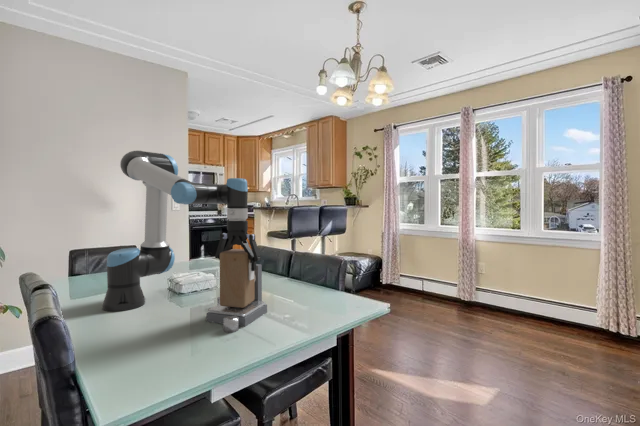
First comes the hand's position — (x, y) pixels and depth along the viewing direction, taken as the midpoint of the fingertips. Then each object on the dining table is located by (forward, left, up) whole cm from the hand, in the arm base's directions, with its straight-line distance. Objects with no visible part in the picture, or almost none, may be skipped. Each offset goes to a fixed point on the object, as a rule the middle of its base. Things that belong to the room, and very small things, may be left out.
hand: (237, 278), depth 123 cm
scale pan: (0, 0, -14) cm, 14 cm away
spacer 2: (+5, -12, -15) cm, 19 cm away
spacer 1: (-12, +8, -15) cm, 21 cm away
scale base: (0, +2, -15) cm, 15 cm away
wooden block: (0, 0, -10) cm, 10 cm away
